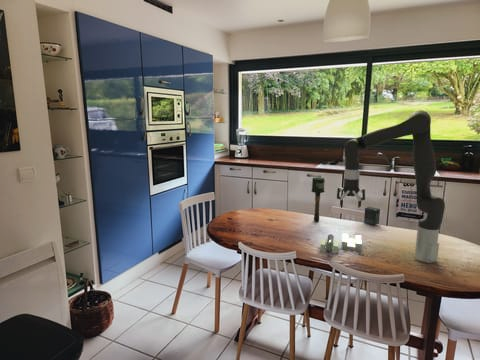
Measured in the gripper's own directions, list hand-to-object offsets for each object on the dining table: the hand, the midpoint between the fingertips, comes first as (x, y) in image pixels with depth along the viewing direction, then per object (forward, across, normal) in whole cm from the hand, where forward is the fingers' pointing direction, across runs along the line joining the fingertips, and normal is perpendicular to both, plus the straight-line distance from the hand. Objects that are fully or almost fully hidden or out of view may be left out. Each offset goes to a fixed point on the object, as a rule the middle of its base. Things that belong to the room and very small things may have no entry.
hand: (350, 206), depth 172 cm
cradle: (+23, +10, +5) cm, 26 cm away
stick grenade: (+24, +21, -39) cm, 50 cm away
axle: (+21, +9, +5) cm, 24 cm away
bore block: (+24, -2, -3) cm, 24 cm away
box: (+25, -15, -46) cm, 54 cm away
